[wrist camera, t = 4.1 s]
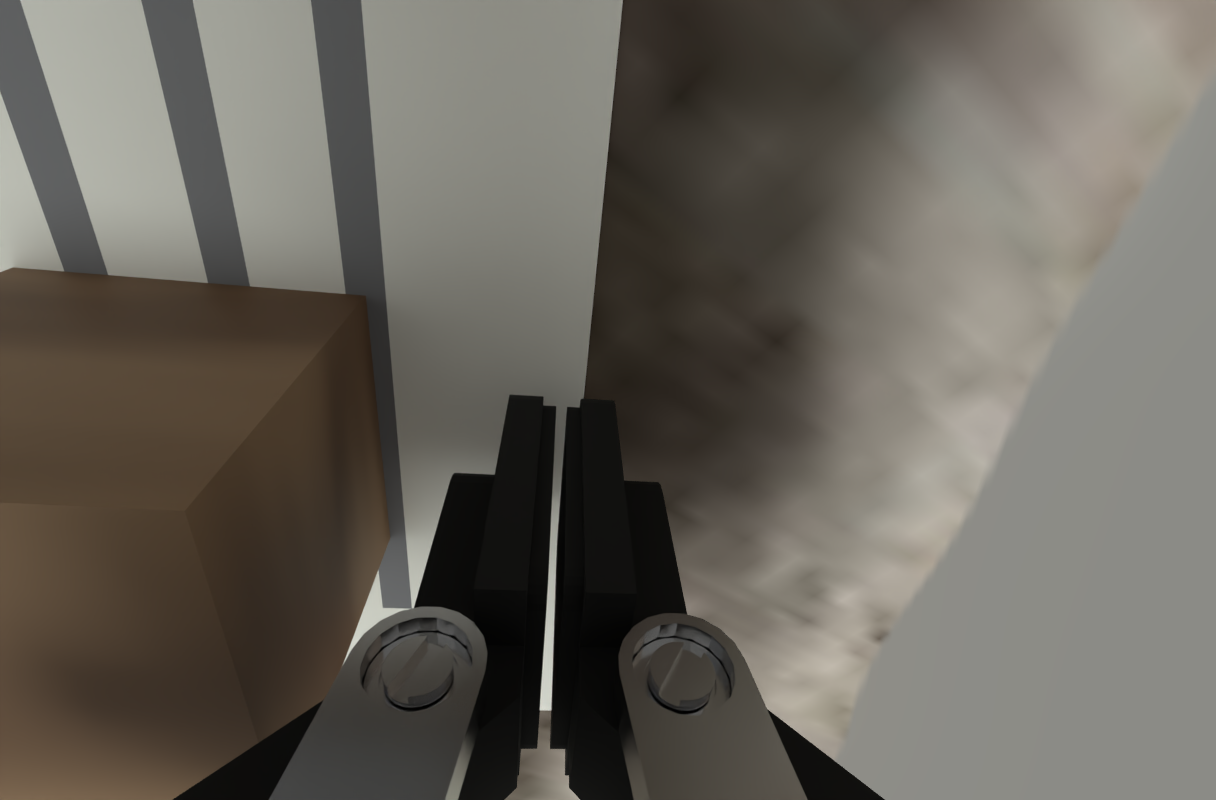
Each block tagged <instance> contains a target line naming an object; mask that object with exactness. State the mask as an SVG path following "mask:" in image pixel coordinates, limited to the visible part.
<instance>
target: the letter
mask: <svg viewBox="0 0 1216 800" xmlns="http://www.w3.org/2000/svg"><path fill="white" fill-rule="evenodd" d="M622 4H623V0H0V272H2V271H5V270H7V269H10V268H12V267H14V268H26V269H39V270H51V271H64V272H76V273H89V274H101V275H114V276H126V277H139V278H151V279H164V280H176V281H189V282H201V283H214V284H226V285H239V286H252V287H264V288H277V289H289V290H302V291H314V292H327V293H339V294H352V295H364V296H366V302H367V312H368V322H369V332H370V342H371V352H372V361H373V371H374V381H375V391H376V401H377V411H378V421H379V431H380V441H381V451H382V461H383V470H384V480H385V490H386V500H387V510H388V520H389V530H390V540H389V543H388V545H387V548H386V551H385V553H384V556H383V559H382V561H381V564H380V567H379V569H378V572H377V575H376V577H375V580H374V583H373V585H372V588H371V591H370V593H369V596H368V599H367V601H366V604H365V607H364V610H363V612H362V615H361V618H360V620H359V623H358V626H357V628H356V631H355V634H354V636H353V639H352V642H351V644H350V647H349V650H348V652H347V655H346V658H345V660H346V659H347V657H348V655H349V653H350V651H351V650H352V649H353V647H354V646H355V645H356V643H357V642H358V641H359V639H360V638H361V637H362V635H363V634H364V633H365V632H367V631H368V630H369V629H370V628H372V627H373V626H374V625H375V624H377V623H378V622H379V621H380V620H383V619H385V618H387V617H389V616H391V615H393V614H395V613H397V612H399V611H403V610H408V609H412V608H414V606H415V602H416V599H417V595H418V591H419V588H420V584H421V581H422V577H423V574H424V570H425V567H426V563H427V560H428V556H429V553H430V549H431V546H432V542H433V539H434V535H435V532H436V528H437V525H438V521H439V518H440V514H441V511H442V507H443V504H444V500H445V497H446V493H447V490H448V486H449V483H450V480H451V477H452V475H453V474H454V473H470V474H492V475H495V470H496V465H497V459H498V454H499V449H500V443H501V438H502V432H503V427H504V421H505V416H506V411H507V405H508V400H509V395H526V396H543V397H544V401H543V405H545V406H556V425H555V447H554V468H553V489H552V511H551V532H550V553H549V574H548V592H547V609H546V624H545V638H544V653H543V668H542V682H541V697H540V710H551V704H552V674H553V643H554V613H555V583H556V553H557V534H558V520H559V507H560V494H561V480H562V467H563V453H564V440H565V426H566V413H567V407H579V408H580V400H581V399H584V390H585V379H586V369H587V359H588V349H589V339H590V329H591V319H592V308H593V298H594V288H595V278H596V268H597V258H598V248H599V237H600V227H601V217H602V207H603V197H604V187H605V176H606V166H607V156H608V146H609V136H610V126H611V116H612V105H613V95H614V85H615V75H616V65H617V55H618V45H619V34H620V24H621V14H622ZM345 660H344V662H345ZM343 664H344V663H343Z"/></svg>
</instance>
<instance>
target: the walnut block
mask: <svg viewBox="0 0 1216 800" xmlns="http://www.w3.org/2000/svg"><path fill="white" fill-rule="evenodd" d="M389 540H390V530H389V520H388V510H387V500H386V490H385V480H384V470H383V461H382V451H381V441H380V431H379V421H378V411H377V401H376V391H375V381H374V371H373V361H372V352H371V342H370V332H369V322H368V312H367V302H366V296H364V295H352V294H339V293H327V292H314V291H302V290H289V289H277V288H264V287H252V286H239V285H226V284H214V283H201V282H189V281H176V280H164V279H151V278H139V277H126V276H114V275H101V274H89V273H76V272H64V271H51V270H39V269H26V268H14V267H12V268H10V269H7V270H5V271H2V272H0V800H173V799H174V798H176V797H177V796H179V795H180V794H182V793H183V792H185V791H186V790H188V789H189V788H191V787H192V786H194V785H195V784H197V783H198V782H200V781H201V780H203V779H204V778H206V777H207V776H209V775H210V774H212V773H213V772H215V771H217V770H218V769H220V768H221V767H223V766H224V765H226V764H227V763H229V762H230V761H232V760H233V759H235V758H236V757H238V756H239V755H241V754H242V753H244V752H245V751H247V750H248V749H250V748H251V747H253V746H254V745H256V744H257V743H259V742H260V741H262V740H263V739H265V738H266V737H268V736H270V735H271V734H273V733H274V732H276V731H277V730H279V729H280V728H282V727H283V726H285V725H286V724H288V723H289V722H291V721H292V720H294V719H295V718H297V717H298V716H300V715H301V714H303V713H304V712H306V711H307V710H309V709H310V708H312V707H313V706H315V705H316V704H318V703H319V702H321V701H323V700H324V699H325V697H326V695H327V693H328V691H329V689H330V688H331V686H332V684H333V682H334V680H335V679H336V677H337V675H338V673H339V671H340V670H341V668H342V666H343V663H344V660H345V658H346V655H347V652H348V650H349V647H350V644H351V642H352V639H353V636H354V634H355V631H356V628H357V626H358V623H359V620H360V618H361V615H362V612H363V610H364V607H365V604H366V601H367V599H368V596H369V593H370V591H371V588H372V585H373V583H374V580H375V577H376V575H377V572H378V569H379V567H380V564H381V561H382V559H383V556H384V553H385V551H386V548H387V545H388V543H389Z"/></svg>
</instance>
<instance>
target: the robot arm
mask: <svg viewBox="0 0 1216 800" xmlns="http://www.w3.org/2000/svg"><path fill="white" fill-rule="evenodd" d="M543 401H544V397H543V396H526V395H509V400H508V405H507V411H506V416H505V421H504V427H503V432H502V438H501V443H500V449H499V454H498V459H497V465H496V470H495V475H492V474H470V473H454V474H453V475H452V477H451V480H450V483H449V486H448V490H447V493H446V497H445V500H444V504H443V507H442V511H441V514H440V518H439V521H438V525H437V528H436V532H435V535H434V539H433V542H432V546H431V549H430V553H429V556H428V560H427V563H426V567H425V570H424V574H423V577H422V581H421V584H420V588H419V591H418V595H417V599H416V602H415V606H414V608H412V609H408V610H403V611H399V612H397V613H395V614H393V615H391V616H389V617H387V618H385V619H383V620H380V621H379V622H378V623H377V624H375V625H374V626H373V627H372V628H370V629H369V630H368V631H367V632H365V633H364V634H363V635H362V637H361V638H360V639H359V641H358V642H357V643H356V645H355V646H354V647H353V649H352V650H351V651H350V653H349V655H348V657H347V659H346V660H345V662H344V664H343V666H342V668H341V670H340V671H339V673H338V675H337V677H336V679H335V680H334V682H333V684H332V686H331V688H330V689H329V691H328V693H327V695H326V697H325V699H324V700H323V701H321V702H319V703H318V704H316V705H315V706H313V707H312V708H310V709H309V710H307V711H306V712H304V713H303V714H301V715H300V716H298V717H297V718H295V719H294V720H292V721H291V722H289V723H288V724H286V725H285V726H283V727H282V728H280V729H279V730H277V731H276V732H274V733H273V734H271V735H270V736H268V737H266V738H265V739H263V740H262V741H260V742H259V743H257V744H256V745H254V746H253V747H251V748H250V749H248V750H247V751H245V752H244V753H242V754H241V755H239V756H238V757H236V758H235V759H233V760H232V761H230V762H229V763H227V764H226V765H224V766H223V767H221V768H220V769H218V770H217V771H215V772H213V773H212V774H210V775H209V776H207V777H206V778H204V779H203V780H201V781H200V782H198V783H197V784H195V785H194V786H192V787H191V788H189V789H188V790H186V791H185V792H183V793H182V794H180V795H179V796H177V797H176V798H174V799H173V800H504V799H505V798H506V797H508V796H509V795H510V794H511V793H512V792H513V791H514V790H515V789H516V788H517V777H518V775H519V767H520V753H521V749H537V741H538V727H539V712H540V697H541V682H542V668H543V653H544V638H545V624H546V609H547V592H548V574H549V553H550V532H551V511H552V489H553V468H554V447H555V425H556V406H545V405H543ZM550 749H565V775H569V788H570V789H571V790H572V791H573V792H574V793H575V794H576V795H577V796H578V798H579V799H580V800H884V799H883V798H882V797H881V796H879V795H878V794H877V793H875V792H874V791H873V790H871V789H870V788H869V787H868V786H866V785H865V784H864V783H862V782H861V781H860V780H858V779H857V778H856V777H855V776H853V775H852V774H851V773H849V772H848V771H847V770H845V769H844V768H843V767H841V766H840V765H839V764H838V763H836V762H835V761H834V760H832V759H831V758H830V757H829V756H827V755H826V754H825V753H823V752H822V751H821V750H819V749H818V748H817V747H816V746H814V745H813V744H812V743H810V742H809V741H808V740H806V739H805V738H804V737H803V736H801V735H800V734H799V733H797V732H796V731H795V730H794V729H792V728H791V727H790V726H788V725H787V724H786V723H784V722H783V721H782V720H781V719H779V718H778V717H777V716H775V715H774V714H773V713H771V712H770V711H769V710H768V709H767V708H766V706H765V703H764V701H763V699H762V697H761V694H760V692H759V690H758V688H757V685H756V683H755V681H754V679H753V677H752V674H751V672H750V670H749V668H748V665H747V663H746V661H745V659H744V657H743V655H742V654H741V652H740V651H739V649H738V648H737V646H736V644H735V643H734V642H733V641H732V640H731V639H730V638H729V637H728V636H727V635H726V634H725V633H724V632H723V631H722V630H721V629H719V628H718V627H716V626H714V625H712V624H710V623H709V622H707V621H705V620H703V619H701V618H697V617H694V616H690V615H687V611H686V606H685V601H684V597H683V592H682V587H681V582H680V577H679V572H678V567H677V562H676V557H675V552H674V547H673V542H672V537H671V532H670V527H669V522H668V517H667V512H666V507H665V502H664V497H663V492H662V489H661V485H660V484H659V483H658V482H639V481H624V476H623V468H622V460H621V451H620V443H619V434H618V426H617V417H616V409H615V402H614V401H610V400H593V399H581V400H580V408H579V407H567V413H566V426H565V440H564V453H563V467H562V480H561V494H560V507H559V520H558V534H557V553H556V583H555V613H554V643H553V674H552V704H551V734H550Z"/></svg>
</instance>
